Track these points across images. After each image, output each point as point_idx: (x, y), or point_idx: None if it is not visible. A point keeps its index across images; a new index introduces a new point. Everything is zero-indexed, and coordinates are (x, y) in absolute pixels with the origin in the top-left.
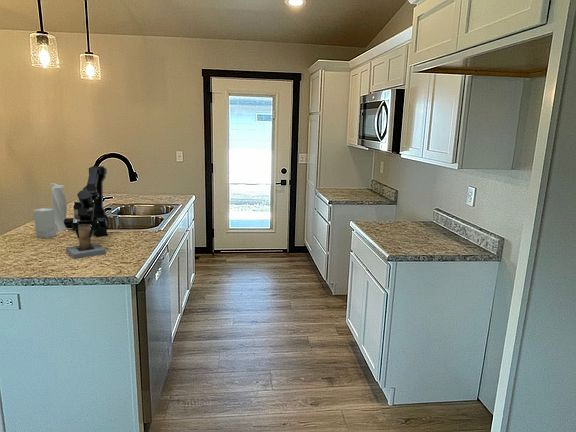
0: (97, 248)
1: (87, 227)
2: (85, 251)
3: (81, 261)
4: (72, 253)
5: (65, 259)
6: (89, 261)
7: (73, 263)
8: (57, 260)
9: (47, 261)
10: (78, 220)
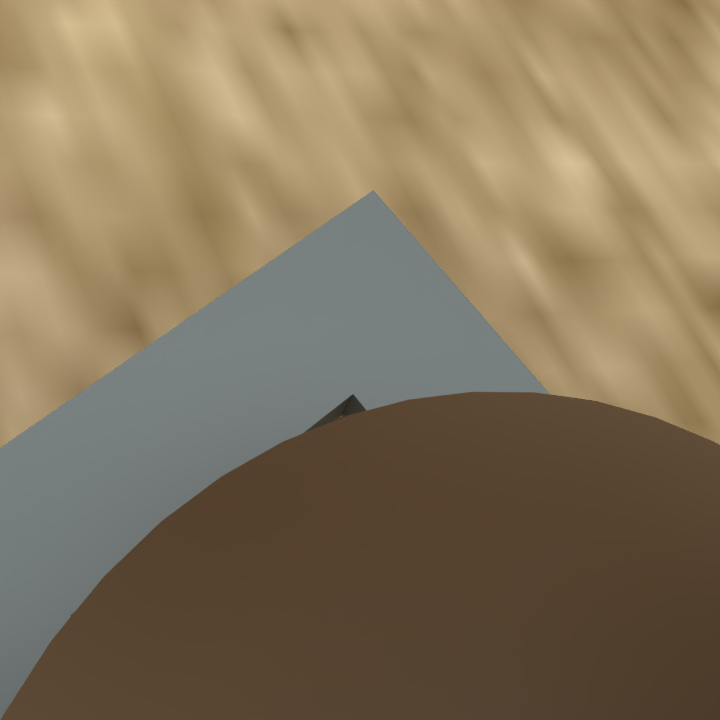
0: (26, 670)
1: (39, 682)
2: (223, 390)
3: (176, 111)
4: (425, 251)
5: (483, 206)
6: (39, 109)
7: (261, 24)
8: (573, 159)
9: (683, 116)
10: None
